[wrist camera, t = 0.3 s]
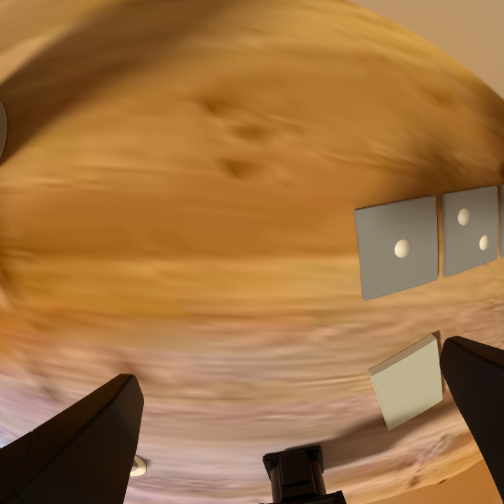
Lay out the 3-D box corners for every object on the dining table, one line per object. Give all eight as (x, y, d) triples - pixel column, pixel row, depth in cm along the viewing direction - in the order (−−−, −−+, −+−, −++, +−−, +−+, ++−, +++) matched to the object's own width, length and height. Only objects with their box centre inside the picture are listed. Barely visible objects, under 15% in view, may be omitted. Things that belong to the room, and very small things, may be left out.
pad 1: (434, 277, 22) (437, 279, 21) (362, 298, 22) (364, 301, 22) (431, 195, 20) (435, 196, 20) (353, 209, 20) (356, 210, 20)
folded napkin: (438, 394, 26) (442, 399, 25) (386, 424, 27) (388, 430, 26) (431, 333, 23) (436, 338, 22) (367, 370, 24) (371, 376, 23)
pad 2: (493, 258, 22) (496, 259, 21) (443, 275, 22) (446, 277, 21) (493, 185, 20) (497, 186, 19) (441, 194, 20) (444, 194, 19)
